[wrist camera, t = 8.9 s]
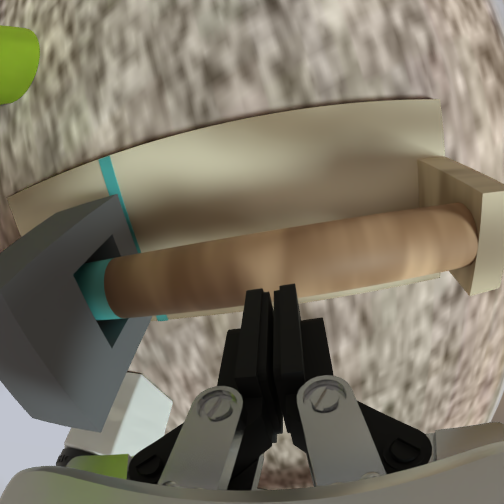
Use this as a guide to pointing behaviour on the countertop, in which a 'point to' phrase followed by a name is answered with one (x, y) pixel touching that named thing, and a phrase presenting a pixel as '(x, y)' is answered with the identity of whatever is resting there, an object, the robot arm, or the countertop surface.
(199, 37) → the countertop surface
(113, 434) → the jar
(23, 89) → the soap dispenser
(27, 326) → the collar
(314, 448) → the robot arm
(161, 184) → the pipe rig
